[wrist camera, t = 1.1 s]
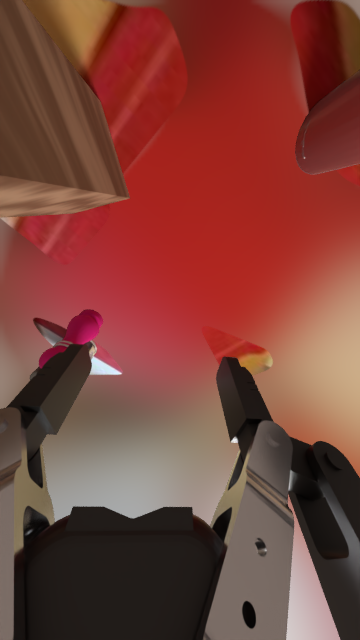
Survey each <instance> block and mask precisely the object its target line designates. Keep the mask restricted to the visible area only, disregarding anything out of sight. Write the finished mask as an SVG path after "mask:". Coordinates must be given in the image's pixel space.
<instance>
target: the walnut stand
mask: <svg viewBox="0 0 360 640" xmlns="http://www.w3.org/2000/svg"><path fill="white" fill-rule="evenodd" d="M128 198H130V197H129V193H128V190H127V187H126V184H125V180H124V177H123V174H122V170H121V167H120V164H119V161H118V157H117V154H116V151H115V147H114V144H113V141H112V138H111V134H110V131H109V128H108V125H107V121H106V118H105V115H104V111H103V108H102V105H101V102H100V100H99V99H98V98H97V96H96V95H95V94H94V93H93V91H92V90H91V89H90V87H89V86H88V85H87V84H86V82H85V81H84V80H83V78H82V77H81V76H80V74H79V73H78V72H77V71H76V69H75V68H74V67H73V65H72V64H71V63H70V62H69V60H68V59H67V58H66V56H65V55H64V54H63V53H62V51H61V50H60V49H59V47H58V46H57V45H56V44H55V42H54V41H53V40H52V38H51V37H50V36H49V34H48V33H47V32H46V31H45V29H44V28H43V27H42V25H41V24H40V23H39V22H38V20H37V19H36V18H35V16H34V15H33V14H32V13H31V11H30V10H29V9H28V7H27V6H26V5H25V4H24V2H23V1H22V0H0V217H17V216H35V215H53V214H71V213H77V212H80V211H84V210H88V209H91V208H95V207H99V206H102V205H106V204H110V203H114V202H117V201H121V200H125V199H128Z"/></svg>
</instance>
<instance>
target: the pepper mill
mask: <svg viewBox="0 0 360 640" xmlns="http://www.w3.org/2000/svg"><path fill="white" fill-rule="evenodd" d="M102 324H103V319H102V317H101V315H100V314H99V313H98V312H96V311H94V310H84V311H82V312H81V313H80V314H79V315H78V316H75V317H74V318H73V319H72V320H71V321H70V322H69V325H68V327H67V332H66V335H65V337H64V339H63V340H62V341H58V342H57V343H56V344H55V345H54V346H53V348H50V349H48V350H46V351H45V352H44V353H43V354H42V355H41V357H40V359H39V366H40V368H41V369H42V367H43V365H44V364H45V363H46V362H47V361H48V360H49V359H50V358H51V357H53V356H54V355H56V354H57V353H59V352H64V351H65V350H66V349H67V347H68V346H69V345H70V344H85V343H86V342H89V341H91V340H92V339H94V338H95V337H96V336H97V335H98V333H99V328H100V327H101V325H102Z"/></svg>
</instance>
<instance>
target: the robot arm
mask: <svg viewBox="0 0 360 640" xmlns="http://www.w3.org/2000/svg"><path fill="white" fill-rule="evenodd" d="M295 154H296V160H297V163H298V165H299V167H300V168H301V169H302V170H303V171H304V172H306V173H309V174H318V173H323V172H327V171H331V170H336V169H340V168H344V167H348V166H352V165H356V164H360V70H359V71H358V72H356V73H355V74H354V75H352V76H351V77H350V78H348V79H347V80H346V81H344V82H343V83H342V84H341V85H339V86H338V87H337V88H335V89H334V90H333V91H332V92H330V93H329V94H328V95H326V96H325V97H324V98H323V99H321V100H320V101H319V102H318V103H317V104H316V105H315V106H314V107H313V108H312V109H311V111H310V112H309V114H308V115H307V117H306V118H305V120H304V122H303V124H302V126H301V128H300V131H299V134H298V136H297V142H296V151H295ZM91 367H92V363H91V358H90V354H89V350H88V346H87V345H84V344H70V345H69V346H68V347H67V349H66V350H65V351H64V352H59V353H57V354H56V355H54V356H53V357H51V358H50V359H49V360H48V361H47V362H46V363H45V364H44V365H43V367H42V369H40V370H39V371H38V372H37V373H36V376H34V377H33V378H32V379H31V380H30V382H29V383H28V384H27V385H26V386H25V387H24V388H23V389H22V391H21V392H20V393H19V394H18V395H17V396H16V397H15V399H14V400H13V401H12V402H11V403H10V404H9V405H8V406H7V407H6V408H3V409H0V640H286V632H287V618H288V603H289V590H290V577H291V562H292V548H293V535H294V517H293V513H292V511H291V510H290V509H289V507H288V501H287V500H288V494H289V497H290V500H291V503H292V505H293V508H294V511H295V514H296V516H297V519H298V522H299V525H300V528H301V531H302V533H303V536H304V539H305V541H306V544H307V547H308V550H309V553H310V556H311V558H312V561H313V564H314V566H315V569H316V572H317V575H318V578H319V581H320V583H321V586H322V589H323V592H324V595H325V598H326V600H327V603H328V606H329V609H330V611H331V614H332V617H333V620H334V623H335V625H336V628H337V631H338V634H339V637H340V639H341V640H360V478H359V476H358V475H357V473H356V472H355V470H354V469H353V467H352V465H351V464H350V462H349V461H348V460H347V458H346V457H345V456H344V455H343V454H342V453H341V452H340V451H339V450H338V449H337V448H335V447H334V446H332V445H330V444H329V443H326V442H323V441H318V442H316V443H314V444H313V445H309V444H307V443H304V442H302V441H299V440H297V439H294V438H292V437H289V436H288V434H287V433H286V432H285V430H284V429H283V428H281V427H280V426H279V425H278V424H276V423H274V422H273V420H272V418H271V416H270V414H269V411H268V409H267V407H266V405H265V403H264V401H263V398H262V396H261V394H260V392H259V391H258V388H257V385H256V384H255V381H254V379H253V377H252V375H251V373H250V372H249V371H248V370H247V369H246V368H245V367H241V366H240V364H239V361H238V359H237V358H235V357H223V358H222V361H221V364H220V366H219V369H218V372H217V377H216V380H217V386H218V391H219V395H220V399H221V403H222V408H223V411H224V416H225V420H226V425H227V428H228V433H229V437H230V441H231V442H236V443H238V444H239V448H240V450H239V452H238V455H237V457H236V460H235V463H234V466H233V469H232V472H231V475H230V477H229V480H228V483H227V486H226V489H225V491H224V493H223V496H222V497H221V499H220V502H219V503H218V506H217V508H216V511H215V513H214V516H213V519H212V522H211V524H210V526H209V525H208V524H207V523H206V522H205V521H204V520H202V519H201V518H199V517H197V516H195V515H193V513H192V507H163V508H160V509H158V510H155V511H153V512H150V513H148V514H145V515H143V516H140V517H137V518H134V519H132V518H128V517H126V516H124V515H122V514H119V513H117V512H115V511H112V510H110V509H108V508H105V507H73V508H72V511H71V514H70V515H68V516H66V517H64V518H62V519H60V520H58V521H56V522H55V521H54V520H55V519H54V511H53V505H52V501H51V498H50V495H49V493H48V488H47V481H46V471H45V463H44V453H43V444H42V442H43V440H44V438H45V437H46V435H47V434H54V435H56V434H57V433H58V431H59V429H60V427H61V425H62V423H63V421H64V420H65V418H66V416H67V414H68V412H69V411H70V408H71V407H72V405H73V403H74V401H75V400H76V398H77V395H78V394H79V392H80V390H81V388H82V386H83V385H84V383H85V381H86V379H87V377H88V376H89V374H90V371H91Z"/></svg>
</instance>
